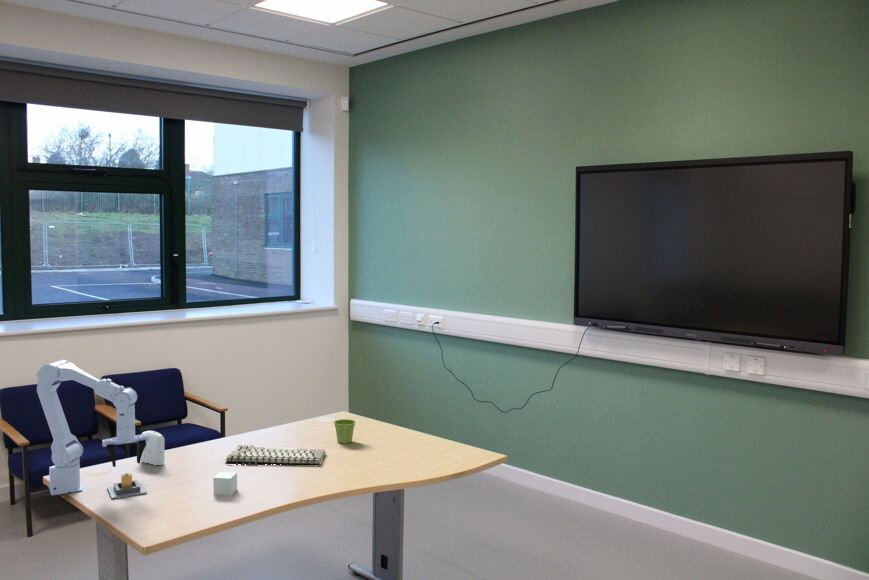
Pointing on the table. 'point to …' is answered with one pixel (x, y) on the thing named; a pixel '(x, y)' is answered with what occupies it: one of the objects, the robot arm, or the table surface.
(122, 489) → the housing
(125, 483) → the tan capped bottle
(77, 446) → the robot arm
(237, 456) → the mechanical keyboard
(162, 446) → the white wifi router
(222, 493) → the white cube
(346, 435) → the plant pot
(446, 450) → the table surface
